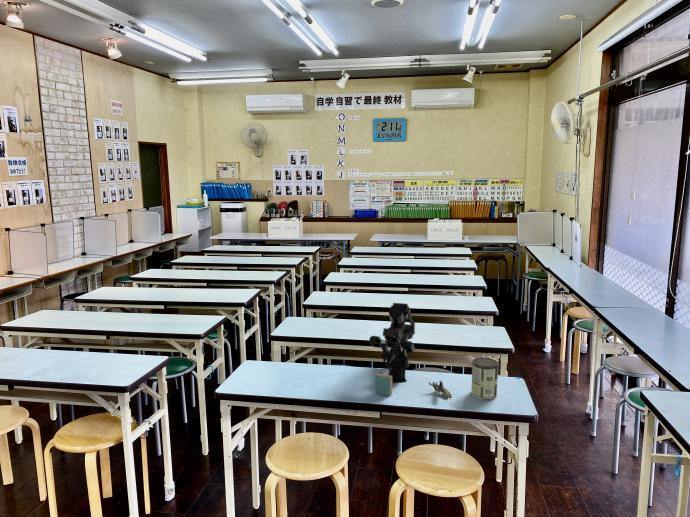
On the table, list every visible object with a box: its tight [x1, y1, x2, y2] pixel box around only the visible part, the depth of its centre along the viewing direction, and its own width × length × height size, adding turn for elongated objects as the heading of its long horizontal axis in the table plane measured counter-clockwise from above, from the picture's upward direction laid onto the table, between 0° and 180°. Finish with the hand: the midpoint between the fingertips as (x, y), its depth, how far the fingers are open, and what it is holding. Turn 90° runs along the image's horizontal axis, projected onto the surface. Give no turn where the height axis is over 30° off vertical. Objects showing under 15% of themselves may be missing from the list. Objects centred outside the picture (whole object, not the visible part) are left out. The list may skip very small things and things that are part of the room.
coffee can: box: [470, 357, 499, 400], centre depth 208 cm, size 10×10×14 cm
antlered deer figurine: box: [428, 379, 452, 400], centre depth 208 cm, size 8×7×9 cm
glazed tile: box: [374, 372, 393, 397], centre depth 209 cm, size 2×6×8 cm, turn 64°
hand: (386, 362), depth 210 cm, fingers closed
